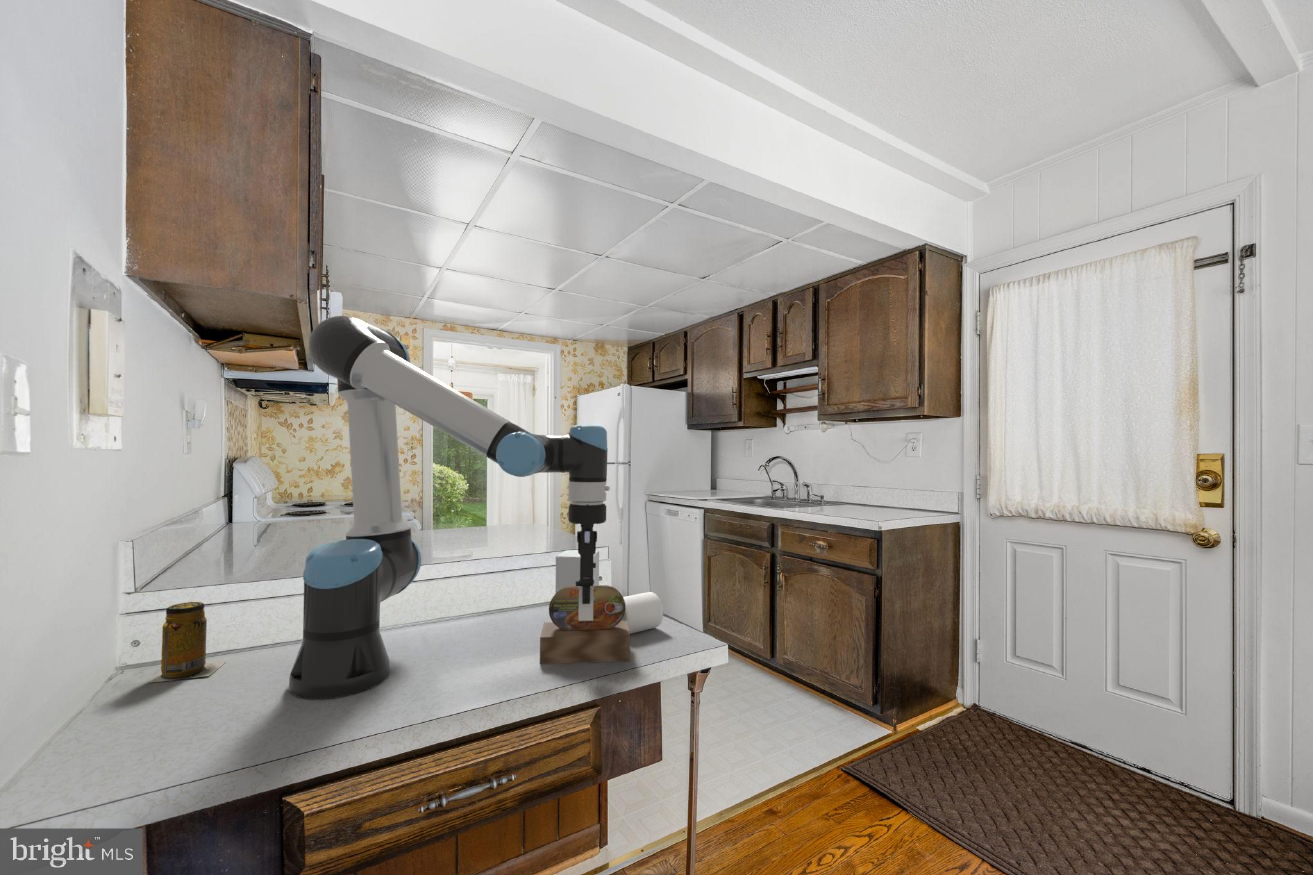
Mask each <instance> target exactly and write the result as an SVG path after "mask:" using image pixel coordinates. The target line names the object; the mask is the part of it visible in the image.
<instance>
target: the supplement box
mask: <svg viewBox="0 0 1313 875" xmlns="http://www.w3.org/2000/svg"><path fill="white" fill-rule="evenodd" d="M593 563H596V568H593V579H594V584H593V585H594V586H600V551H599V550H596V553H595V554H594V555H593ZM579 580H580V554H578V550H576V549H575V550H574V549H573V550H569V549H567V550H565V551H563V552H561V553H559V554H557V555H556V556H555V594H556V593H557V592H558V591H559V590H560V589H562V588H564V587H569V586H576V581H579Z"/></svg>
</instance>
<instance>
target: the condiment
mask: <svg viewBox="0 0 1313 875" xmlns="http://www.w3.org/2000/svg"><path fill="white" fill-rule="evenodd" d="M165 615H166V616H165V622H164V623H163V625H162V630H161V634H162V635H161V636H162V637H161V638H162V640H161V642H162V643H161V660H160V663H161V667H160V670H161V673H160V674H159V675H158V676H156V677H155V678H153V679H151V680H150V681H149V683H159V682H169V681H170V682H171V681H177V680H183V679H196V678H197V679H198V678H201V677H209V676H211V675H212V674H214V673H215V672H216V671H218V670H219V669H220V667H221V666H223V665H224V664H225V663H226V661H218V662H217V661H216V662H213V661H212V662H206V659H207V657H206V656H207V654H206V653H207V627H208V626H207V622H208V621H207V617H206V613H205V603H204V602H201V601H189V602H182V603H176V604H173V605H169V606H168V607H167V608H166V610H165ZM221 668H222V667H221Z"/></svg>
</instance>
